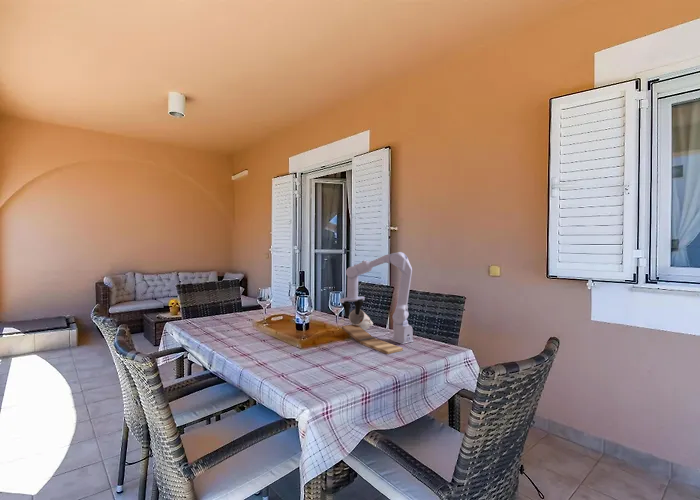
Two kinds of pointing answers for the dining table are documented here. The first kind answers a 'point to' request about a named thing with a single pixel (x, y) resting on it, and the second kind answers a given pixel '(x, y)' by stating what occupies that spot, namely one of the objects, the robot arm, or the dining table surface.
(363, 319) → the mug
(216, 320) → the dining table surface
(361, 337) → the plank
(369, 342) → the oak board
